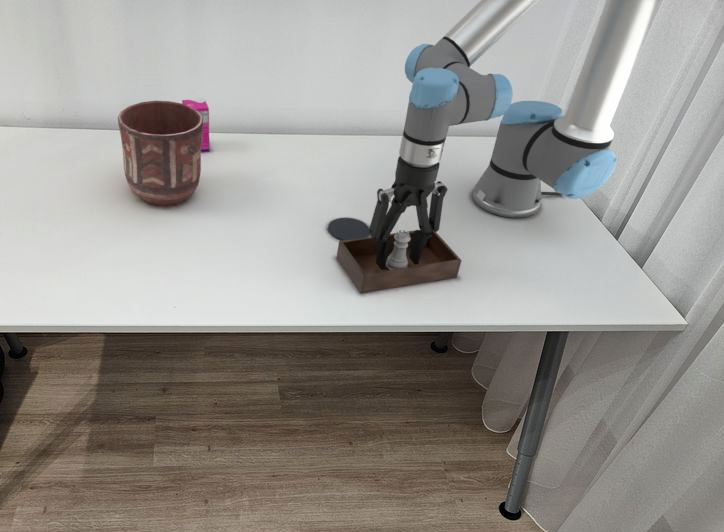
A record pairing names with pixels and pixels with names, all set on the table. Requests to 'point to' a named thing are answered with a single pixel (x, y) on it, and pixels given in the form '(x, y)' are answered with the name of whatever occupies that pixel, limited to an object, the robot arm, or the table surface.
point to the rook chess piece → (399, 251)
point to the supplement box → (204, 111)
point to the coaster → (348, 229)
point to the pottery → (161, 150)
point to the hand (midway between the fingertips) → (397, 263)
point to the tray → (369, 277)
